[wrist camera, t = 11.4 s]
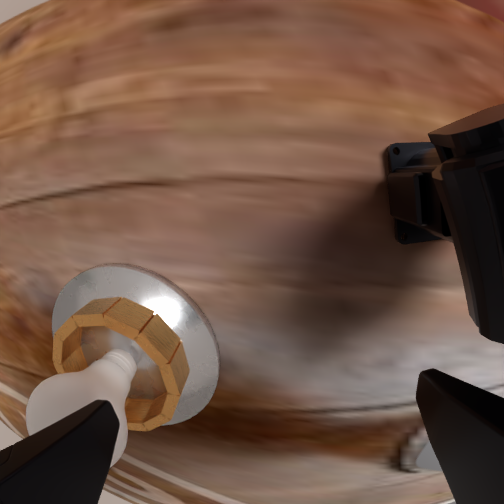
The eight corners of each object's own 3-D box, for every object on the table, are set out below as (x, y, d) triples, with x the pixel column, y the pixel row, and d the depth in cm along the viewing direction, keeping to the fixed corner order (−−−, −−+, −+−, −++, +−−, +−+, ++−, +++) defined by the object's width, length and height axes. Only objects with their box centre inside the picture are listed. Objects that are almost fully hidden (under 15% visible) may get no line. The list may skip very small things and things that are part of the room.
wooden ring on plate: (199, 250, 20) (183, 267, 16) (235, 417, 23) (230, 452, 19) (39, 273, 21) (8, 289, 17) (92, 413, 24) (74, 438, 20)
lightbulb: (92, 377, 22) (23, 465, 11) (89, 311, 21) (-7, 393, 10) (161, 399, 22) (112, 508, 11) (166, 333, 21) (96, 446, 10)
